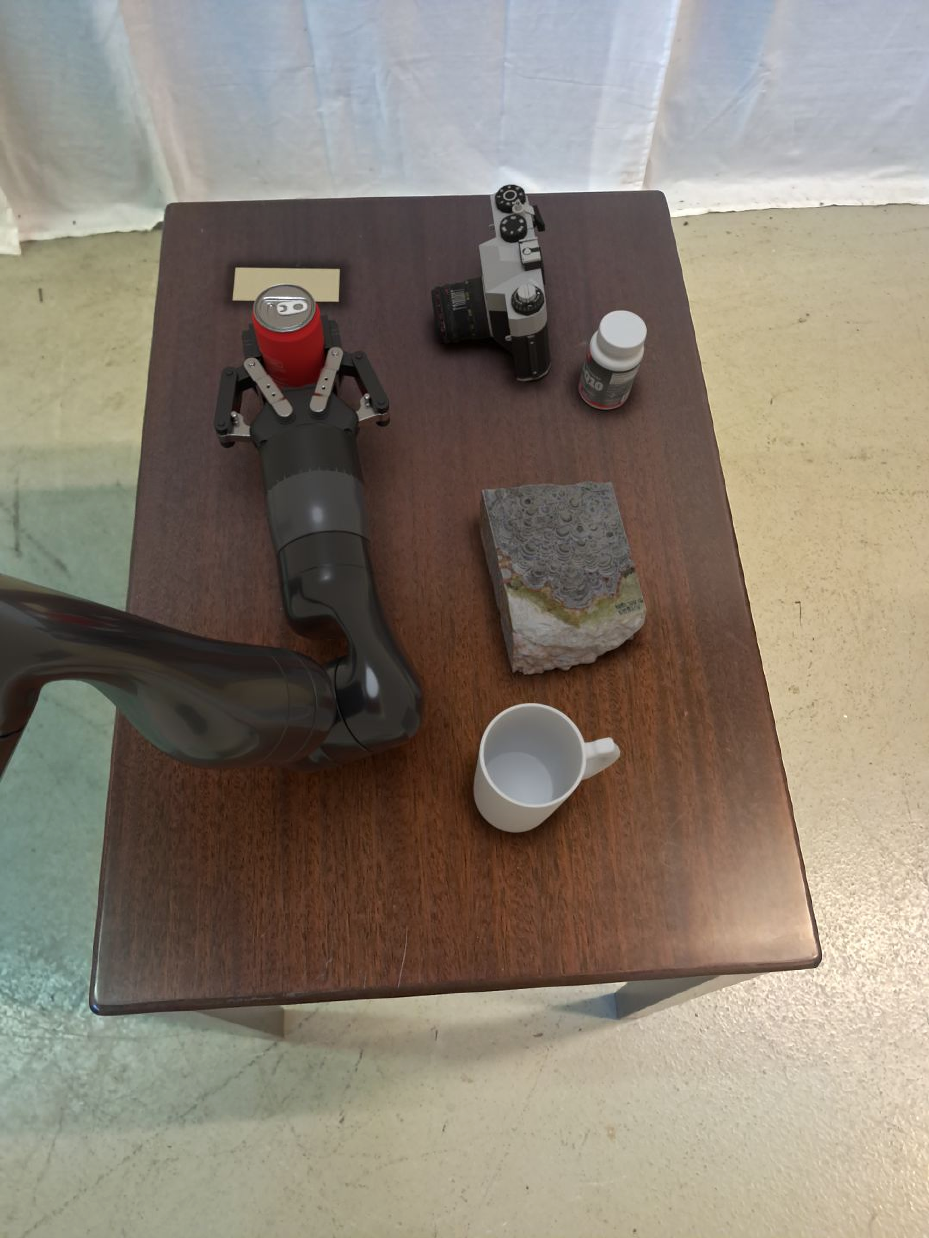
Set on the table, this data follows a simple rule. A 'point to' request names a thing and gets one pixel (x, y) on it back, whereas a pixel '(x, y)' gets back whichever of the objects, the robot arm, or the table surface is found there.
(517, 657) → the geological specimen
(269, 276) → the strip
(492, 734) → the mug
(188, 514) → the table surface
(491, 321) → the camera
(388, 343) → the table surface
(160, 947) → the table surface
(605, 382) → the pill bottle
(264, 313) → the beverage can
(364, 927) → the table surface
